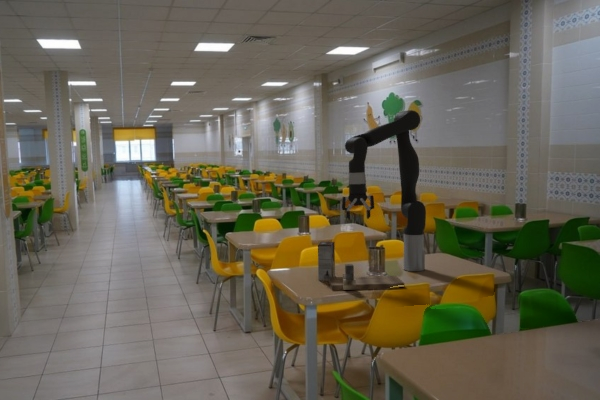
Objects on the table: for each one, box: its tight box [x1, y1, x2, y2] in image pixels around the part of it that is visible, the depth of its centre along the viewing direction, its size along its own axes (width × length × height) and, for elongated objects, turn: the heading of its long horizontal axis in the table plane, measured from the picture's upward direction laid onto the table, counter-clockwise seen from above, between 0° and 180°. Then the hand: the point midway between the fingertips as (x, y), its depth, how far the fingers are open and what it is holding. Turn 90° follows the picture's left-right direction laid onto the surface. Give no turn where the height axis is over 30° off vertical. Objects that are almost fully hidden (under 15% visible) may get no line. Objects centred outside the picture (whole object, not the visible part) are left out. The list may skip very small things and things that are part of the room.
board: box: [327, 275, 405, 291], centre depth 222 cm, size 30×14×2 cm, turn 93°
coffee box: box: [317, 241, 336, 282], centre depth 235 cm, size 9×6×16 cm
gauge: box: [342, 263, 357, 291], centre depth 218 cm, size 5×13×10 cm, turn 3°
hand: (358, 219), depth 233 cm, fingers open, 8 cm apart
